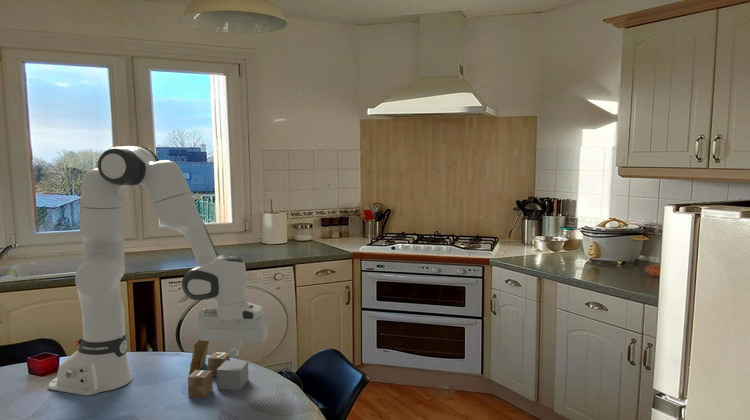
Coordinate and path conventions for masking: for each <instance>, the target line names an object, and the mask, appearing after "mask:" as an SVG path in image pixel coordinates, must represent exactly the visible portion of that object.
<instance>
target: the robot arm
mask: <svg viewBox="0 0 750 420" xmlns="http://www.w3.org/2000/svg"><path fill="white" fill-rule="evenodd" d="M138 185H140V186H143V188H145V189H146V191H147V193H148V195H149V198H150V201H151V204H152V206H153V209H154V212H155V214H156V217H157V218H158V220H159V222H160V223H161V224H162V225H163V226H165V227H166V228H168V229H171V230H174V231H176V232H178V233H180V234H182V235H183V236H184V237H185V238H186V239H187V241H188V243H189V247H190V249H191V250H192V252H193V253H192V254H193V255H194V257H195V260H196V263H197V264H196V266H195V267H193V268H191V269H190V270H189V271H187V272H186V273H185V274H184V276H183V277H182V281H181V288H182V292H183V293H184V295H186V297H187V298H189V299H191V300H193V301H205V300H211V299H215V300H216V301H215V304H216V306H215V308H213V309H208V308H203V309H202V310H200V311H199V312H198V314H197V318H198V319H197V320H198V328H197V338H198V340H199V339H200V340H201V341H209V342H223V346H224V348H225V350H226V351H227V352H226V353H228V356H230V357H238V356H239V355H240V348H241V346H242V344H243V343H255V344H257V343H258V344H259V343H260V344H261V343H264V342H265V341H266V340H267V338H268V326H267V325H268V324H267V320H266V317H265V316H264V314H263V313H264V307H263V306H261V305H259V304H255V303H253V302H250V301H248V296H247V290H246V289H247V286H248V279H247V269H246V264H245V261H244V260H243V259H244V258H242V257H240V256H237V255H234V254H230V253H229V254H225V253H224V254H220V255H219V254H218V252H217V250H216V247H215V246H214V243H213V240H212V238H211V236H210V233H209V232H208V229H207V227H206V225H205V223H204V221H203V218H202V217H201V215H200V213H199V211H198V208H197V204H196V201H195V199H194V197H193V193H192V190H191V189H190V185H189V184H188V182H187V179H186V177H185V175H184V173H183V170H181V168H180V166H179V165H178V163H176V162H175V161H172V160H168V159H163V160H159V158H158V156H157V155H156V154H155V153H154V151H153V150H150V149H149V148H147V147H144V146H135V145H125V146H114V147H110V148H108V149H106V150H105V151H104V152H102V154H101V155H100V156H99V158H98V161H97V167H95V168H91V169H90V170H88V171H87V172H85V174H84V176H83V179H82V183H81V190H80V200H79V201H80V202H79V209H80V210H79V216H80V217H79V222H80V223H79V227H80V228H79V234H80V237H81V242H82V249H83V262H82V263H81V264H80V265H79V267H78V268H77V270H76V272H75V279H74V283H75V286H76V289H77V295H78V301H79V305H80V310H81V318H82V319H81V320H82V334H83V335H82V337H80V338H79V339H78V340H77V341H75V342H74V347H78V349H77V350H76V351H75V352H73V353H72V354H71V355H69V357H67V358H66V359H64V361H62V362H61V363H60V365H59V367H58V370H57V376H56V377H54V379H52V380H51V381H50V382H49V384H48V389H49V390H53V391H58V392H64V393H70V394H75V395H81V396H92V395H96V394H98V393H101V392H107V391H112V390H116V389H118V388H121V387H124V386H125V385H127V384H129V383H130V382H131V381H133V374H132V372H131V369H130V364H129V361H128V360H129V359H128V355H127V350H128V340H127V339H128V337H127V333H126V332H125V331H126V328H125V308H124V305H123V300H122V299H123V298H122V293H121V291H122V290H121V280H122V277H123V276H124V275H125V270H126V259H125V257H126V256H125V255H126V254H125V244H124V243H125V242H124V233H123V230H124V229H123V227H124V226H123V224H124V221H123V218H124V215H123V214H124V211H123V210H124V208H123V207H124V203H123V202H124V201H123V198H124V197H123V196H124V191H125V189H126V188H127V187H129V186H131V187H132V186H138ZM233 342H234V343H235V346H236V348H235V347H234V348H233V347H232V346H231V345H230V343H233Z"/></svg>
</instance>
